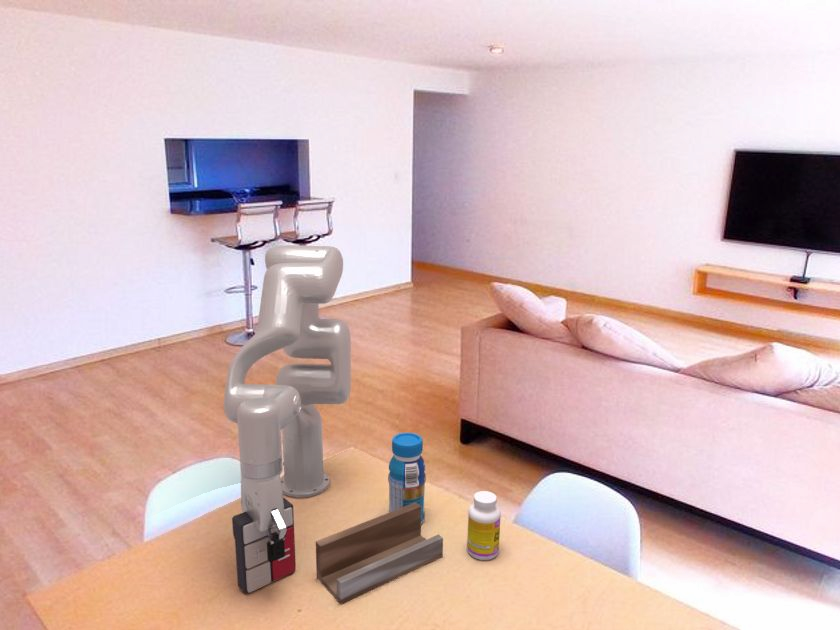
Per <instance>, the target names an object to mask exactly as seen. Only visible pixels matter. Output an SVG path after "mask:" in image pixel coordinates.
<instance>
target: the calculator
mask: <svg viewBox="0 0 840 630" xmlns="http://www.w3.org/2000/svg"><path fill="white" fill-rule="evenodd" d="M283 502H284V524H285V526H286V529H287V531H286V535H285V540H284V547H285V556H284V557H283V558H280V559H278V560H275V561H272V562H269V561H268V557H267V542H269V541H268V537H267V534H266V531H264V532H259V531H258V530H257V529H256V528H255V527H254V522H253V519H252V518H251V517H250V516H249V515H248V513H247V512H241V513H238V514H236V515H233V516H232V518H231V521H232V524H231V525H232V536H233V538H234V546H235V549H234V550H235V560H236V561H235V563H236V575H237V577H236V578H237V587H238V588H239V590H241V591H242V592H243V594H245V595H248V594H249V593H252V592H254V591H256V590H259V589H261V588H263V587H265V586H267V585H269V584H270V583H273V582H276V581H278V580H280V579H282V578H284V577H286V576H288V575H290V574H292V573H294V572H296V570H297V568H296V567H297V565H296V547H295V546H296V543H295V540H296V539H295V517H294V505H293V503H292V502H291V501H289V500H287V498H285V497H284V496H283ZM271 525H274V522H273V521H272V522H270V525H269V526H271ZM276 531H277V529H276V528H273V529H271V533H272V536H273V535H274V534H276V533H277V532H276Z"/></svg>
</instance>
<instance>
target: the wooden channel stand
mask: <svg viewBox="0 0 840 630" xmlns="http://www.w3.org/2000/svg"><path fill="white" fill-rule="evenodd" d="M443 551H444V537H443V536H441V535H440V534H436V535H434V536H432V537H430V538H427V539H426V537H424V536H422V523H421V506H420V505H419V504H417V503H416V502H415V503H412V504H410V505H407V506H405V507H402V508H400V509H397V510H394V511H392V512H389V511H388V512H386V513H384V514H382V515H379V516H377V517H374V518H372V519H369V520H367V521H363V522H361V523H359V524H357V525H353V526H351V527H349V528H346V529H343V530H341V531H338V532H336V533H333V534H331V535H328V536H325V537H322V538H320V539H318V540H316V541H315V562H316V563H315V567H316V569H315V570H316V578H317V579H318V580H319V581H320V582H321V584H322V585H323V586H324V587H325V588H326V589H327V590H328V591H329V593H330V594H331V595H332V596H333V597H334V599H336V600H337V601H338V603H339V604H340V605H343V604H345V603H348V602H349V601H351V600H354V599H355V598H358V597H360V596H362V595H364V594H366V593H368V592H369V593H370V592H371V591H373V590H374V589H375V590H376V588H377V589H378V588H379V587H381V586H383V585H386V584H388V583H390V582H392V581H394V580H397V579H398V578H400V577H401V578H402V576H405V575H407V574H409V573H411V572H414V571H416V570H417V569H420V568H423V567H424V566H426V565H429V564H431V563H433V562H435V561H437V560H439V559H441V558H443V553H444V552H443Z"/></svg>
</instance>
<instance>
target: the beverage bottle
mask: <svg viewBox="0 0 840 630" xmlns="http://www.w3.org/2000/svg"><path fill="white" fill-rule="evenodd" d="M423 441H424V440H423V438H422V436H421V435H420V434H417V433H415V432H401V433H397V434H396V435H394V436H393V438H392V440H391V450H392V451H391V452H392V454H393V455H392V457H391V458H390V461H389V464H388V471H389V472H388V476H387V481H388V483H389V484H388V486H389V487H388V489H389V490H388V491H389V492H388V500H389V501H388V503H389V504H388V507H389V509H388V513H389V512H392V511H394V510H397V509H400V508H402V507H405V506H407V505H410V504H412V503H415V502H416V503H417V504H419V505H420V506H421V524H422V523H424V521H425V517H426V515H425V513H426V512H425V489H426V486H425V485H426V482H427V475H426V472H425V471H426V467H427V466H426V462H425V459H424V458H423V456H422V453H423V451H424V450H423V448H424V447H423V445H424V444H423V443H424V442H423Z"/></svg>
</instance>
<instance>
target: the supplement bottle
mask: <svg viewBox="0 0 840 630" xmlns="http://www.w3.org/2000/svg"><path fill="white" fill-rule="evenodd" d="M497 501H498V500H497V495H496V494H495V493H494V492H491V491H487V490H481V491H477V492H475V493H474V496H473V503H472V505H470V506H469V508H468V514H467V515H468V517H467V519H468V520H467V540H466V551H467V553H468V554H469V555H470V556H471V557H472V558H474V559H476V560H479V561H489V560H492V559H495V558H496V557H497V556H498V554H499V550H500V531H501V510H500V508H499V507H498V505H497V504H498V502H497Z"/></svg>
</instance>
